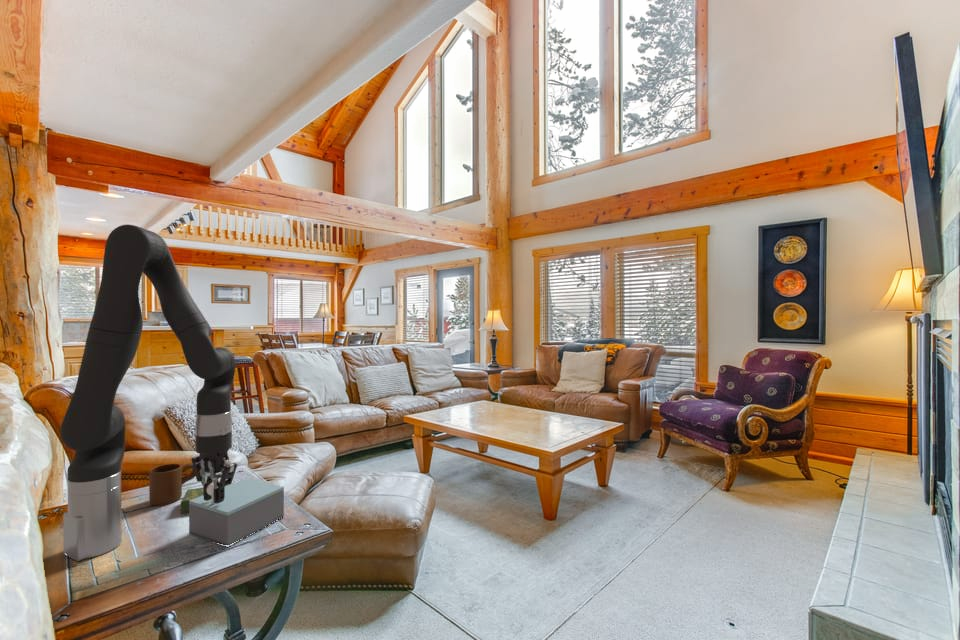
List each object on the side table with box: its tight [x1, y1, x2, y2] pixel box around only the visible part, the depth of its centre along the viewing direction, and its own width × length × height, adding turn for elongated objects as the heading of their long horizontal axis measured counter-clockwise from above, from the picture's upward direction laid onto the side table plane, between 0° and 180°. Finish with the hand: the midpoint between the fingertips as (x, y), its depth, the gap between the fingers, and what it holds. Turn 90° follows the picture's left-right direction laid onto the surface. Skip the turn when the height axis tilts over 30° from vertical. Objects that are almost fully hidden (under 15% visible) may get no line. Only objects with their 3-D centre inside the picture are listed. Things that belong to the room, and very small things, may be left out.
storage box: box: [188, 489, 285, 545], centre depth 110 cm, size 16×14×8 cm
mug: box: [148, 462, 196, 506], centre depth 126 cm, size 12×8×9 cm, turn 139°
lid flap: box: [189, 477, 285, 516], centre depth 110 cm, size 16×14×6 cm
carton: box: [179, 482, 234, 515], centre depth 123 cm, size 8×16×4 cm, turn 114°
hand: (214, 500), depth 104 cm, fingers closed on lid flap, 3 cm apart
